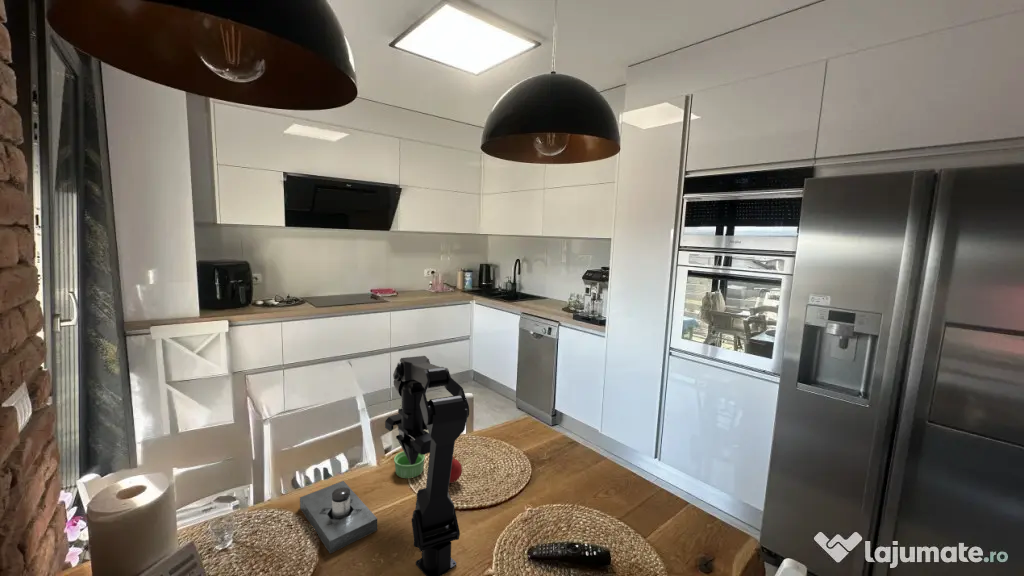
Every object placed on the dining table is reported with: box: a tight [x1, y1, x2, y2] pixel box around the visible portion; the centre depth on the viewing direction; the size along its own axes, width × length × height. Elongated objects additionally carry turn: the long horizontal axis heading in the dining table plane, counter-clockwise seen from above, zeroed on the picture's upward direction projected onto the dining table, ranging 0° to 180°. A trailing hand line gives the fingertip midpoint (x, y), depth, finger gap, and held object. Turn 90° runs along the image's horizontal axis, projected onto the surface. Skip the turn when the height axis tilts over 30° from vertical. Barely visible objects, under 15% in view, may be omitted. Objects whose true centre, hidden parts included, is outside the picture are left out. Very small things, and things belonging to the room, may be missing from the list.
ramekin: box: [393, 450, 426, 479], centre depth 121 cm, size 9×9×4 cm
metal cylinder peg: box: [332, 487, 351, 520], centre depth 98 cm, size 4×4×8 cm
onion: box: [449, 455, 463, 484], centre depth 116 cm, size 6×6×8 cm
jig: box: [299, 480, 378, 555], centre depth 99 cm, size 20×11×3 cm, turn 44°
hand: (412, 463), depth 104 cm, fingers closed
